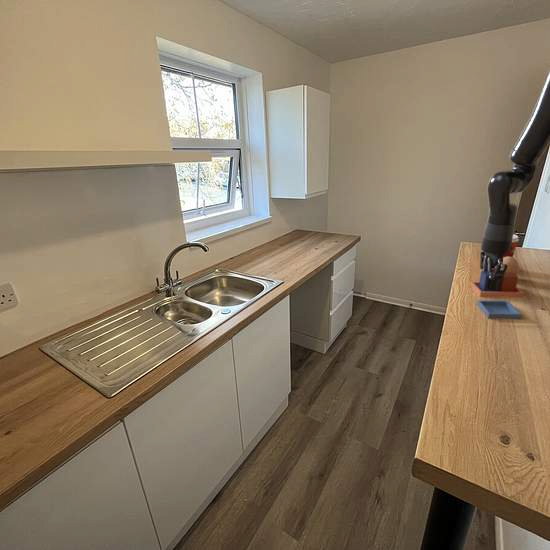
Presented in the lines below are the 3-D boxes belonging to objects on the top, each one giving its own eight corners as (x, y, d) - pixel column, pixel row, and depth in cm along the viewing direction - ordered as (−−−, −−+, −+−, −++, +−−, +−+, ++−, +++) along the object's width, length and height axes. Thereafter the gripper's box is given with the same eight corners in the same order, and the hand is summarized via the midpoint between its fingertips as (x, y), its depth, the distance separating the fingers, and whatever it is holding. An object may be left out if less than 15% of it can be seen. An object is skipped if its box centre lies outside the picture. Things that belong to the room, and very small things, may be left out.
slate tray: (506, 306, 93) (507, 300, 92) (520, 320, 85) (522, 314, 84) (476, 305, 94) (477, 300, 94) (487, 319, 87) (489, 313, 86)
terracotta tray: (509, 286, 104) (510, 281, 103) (522, 297, 96) (523, 292, 95) (470, 286, 106) (471, 281, 106) (479, 297, 99) (480, 292, 98)
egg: (488, 278, 111) (493, 255, 108) (503, 275, 112) (508, 252, 109) (505, 285, 105) (511, 261, 101) (521, 281, 106) (527, 258, 103)
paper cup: (514, 275, 112) (523, 238, 106) (489, 273, 114) (497, 238, 109) (507, 267, 118) (515, 232, 113) (484, 266, 121) (491, 232, 116)
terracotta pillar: (508, 288, 102) (512, 272, 100) (514, 293, 98) (518, 277, 96) (494, 288, 103) (498, 272, 100) (500, 293, 99) (504, 277, 97)
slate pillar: (491, 287, 103) (494, 271, 100) (496, 292, 99) (500, 275, 97) (478, 287, 104) (481, 271, 101) (483, 292, 100) (486, 275, 98)
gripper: (523, 243, 87) (511, 295, 94) (500, 230, 100) (491, 277, 106) (494, 243, 89) (484, 295, 95) (475, 231, 102) (467, 277, 108)
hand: (487, 285), depth 101 cm, fingers closed on slate pillar, 4 cm apart
